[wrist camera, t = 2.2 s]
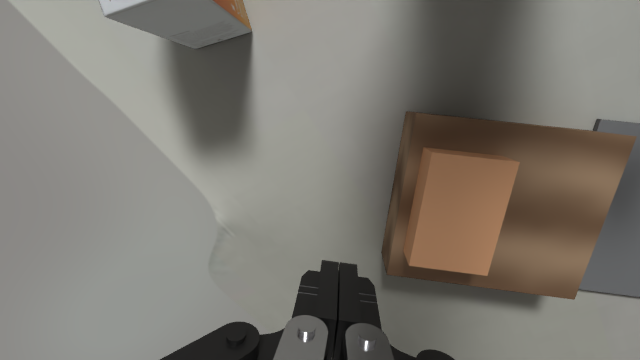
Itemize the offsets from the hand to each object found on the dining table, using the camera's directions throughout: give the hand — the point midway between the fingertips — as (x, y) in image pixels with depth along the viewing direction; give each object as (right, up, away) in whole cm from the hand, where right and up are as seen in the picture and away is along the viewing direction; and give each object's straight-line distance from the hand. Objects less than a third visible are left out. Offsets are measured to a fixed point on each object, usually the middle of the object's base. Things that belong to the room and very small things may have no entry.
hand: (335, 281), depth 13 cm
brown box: (+14, +3, +15) cm, 21 cm away
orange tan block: (+10, +2, +12) cm, 15 cm away
